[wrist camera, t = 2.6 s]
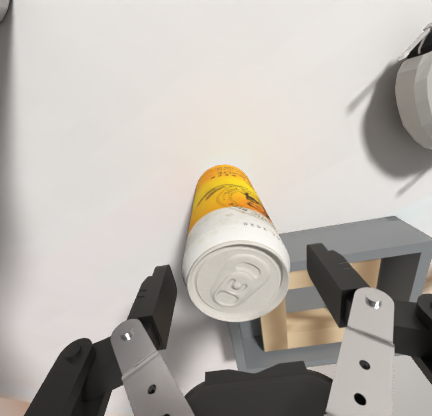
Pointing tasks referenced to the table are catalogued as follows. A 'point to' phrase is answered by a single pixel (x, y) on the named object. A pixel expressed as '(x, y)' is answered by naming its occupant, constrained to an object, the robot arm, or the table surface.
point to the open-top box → (353, 252)
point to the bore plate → (308, 315)
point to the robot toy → (416, 89)
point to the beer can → (233, 250)
